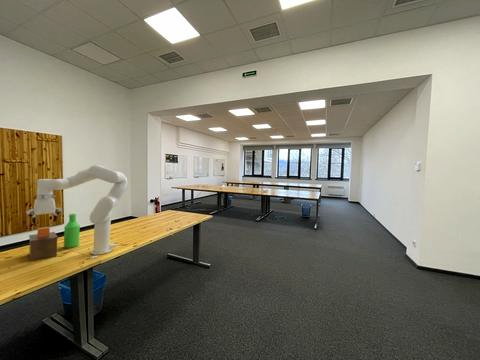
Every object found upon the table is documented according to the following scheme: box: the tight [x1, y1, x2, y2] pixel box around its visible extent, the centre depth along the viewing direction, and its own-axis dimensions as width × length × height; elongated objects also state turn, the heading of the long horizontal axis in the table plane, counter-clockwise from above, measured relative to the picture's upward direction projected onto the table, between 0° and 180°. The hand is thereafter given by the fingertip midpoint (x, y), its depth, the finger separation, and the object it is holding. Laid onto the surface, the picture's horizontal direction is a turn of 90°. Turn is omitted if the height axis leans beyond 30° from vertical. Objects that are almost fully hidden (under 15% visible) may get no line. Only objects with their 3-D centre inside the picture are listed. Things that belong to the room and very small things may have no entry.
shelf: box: [28, 231, 59, 262], centre depth 132 cm, size 13×16×13 cm
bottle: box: [63, 213, 81, 249], centre depth 149 cm, size 9×9×25 cm
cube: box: [36, 226, 51, 238], centre depth 132 cm, size 5×5×5 cm
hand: (44, 222), depth 132 cm, fingers open, 9 cm apart
